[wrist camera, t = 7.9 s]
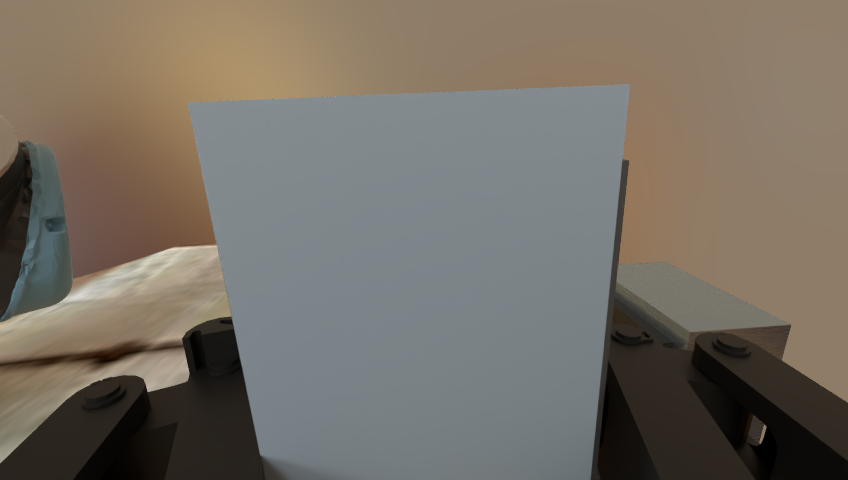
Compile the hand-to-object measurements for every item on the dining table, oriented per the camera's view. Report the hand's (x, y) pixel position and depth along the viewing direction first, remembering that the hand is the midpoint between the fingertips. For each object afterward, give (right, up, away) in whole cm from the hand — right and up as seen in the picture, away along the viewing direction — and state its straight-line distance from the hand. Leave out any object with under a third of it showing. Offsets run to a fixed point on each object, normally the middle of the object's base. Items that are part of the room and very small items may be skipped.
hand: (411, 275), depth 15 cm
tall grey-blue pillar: (+1, -9, -3) cm, 10 cm away
